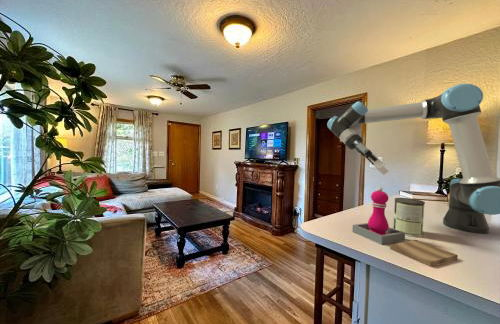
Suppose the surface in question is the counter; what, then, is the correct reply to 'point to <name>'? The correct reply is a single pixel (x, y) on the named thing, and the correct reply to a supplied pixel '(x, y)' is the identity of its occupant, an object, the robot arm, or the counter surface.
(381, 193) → the pepper mill
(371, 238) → the holder
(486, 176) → the robot arm
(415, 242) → the board
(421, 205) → the coffee can
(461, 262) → the counter surface
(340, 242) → the counter surface
